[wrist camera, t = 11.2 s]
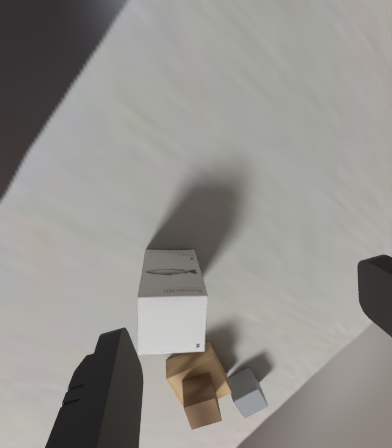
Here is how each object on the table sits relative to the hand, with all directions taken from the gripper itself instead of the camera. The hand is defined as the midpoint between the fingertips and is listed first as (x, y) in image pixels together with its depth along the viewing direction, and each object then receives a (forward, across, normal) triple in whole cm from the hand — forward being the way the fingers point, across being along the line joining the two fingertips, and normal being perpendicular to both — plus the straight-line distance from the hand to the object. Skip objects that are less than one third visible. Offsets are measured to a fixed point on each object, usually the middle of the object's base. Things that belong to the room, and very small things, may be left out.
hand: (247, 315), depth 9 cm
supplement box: (+28, +5, +12) cm, 31 cm away
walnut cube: (+24, +6, +31) cm, 40 cm away
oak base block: (+28, +5, +31) cm, 42 cm away
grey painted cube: (+28, -2, +37) cm, 46 cm away
